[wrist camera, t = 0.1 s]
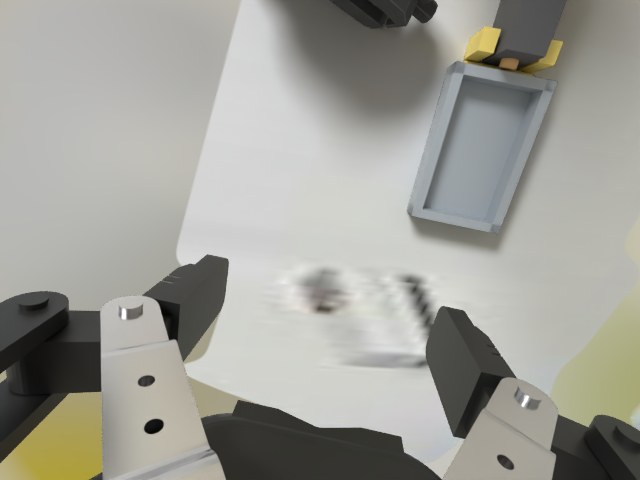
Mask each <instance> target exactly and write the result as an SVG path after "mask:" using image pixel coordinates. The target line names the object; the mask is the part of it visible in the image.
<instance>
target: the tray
mask: <svg viewBox="0 0 640 480" xmlns="http://www.w3.org/2000/svg"><path fill="white" fill-rule="evenodd" d="M556 84H557V81H552V80H547V79H542V78H537V77H533V76H528V75H523V74H518V73H513V72H508V71H503V70H498V69H493V68H488V67H483V66H478V65H473V64H468V63H463V62H458V61H457V62H455V63H454V64H452V65H451V66H449V67H448V70H447V73H446V77H445V80H444V84H443V87H442V90H441V94H440V97H439V101H438V104H437V108H436V111H435V115H434V118H433V122H432V125H431V128H430V132H429V135H428V139H427V142H426V146H425V149H424V153H423V156H422V160H421V163H420V167H419V170H418V173H417V177H416V180H415V184H414V187H413V191H412V194H411V198H410V201H409V205H408V208H407V211H408V212H409V213H410V215H411V216H414V217H419V218H424V219H429V220H433V221H438V222H443V223H447V224H452V225H457V226H462V227H466V228H471V229H476V230H480V231H485V232H490V233H495V234H498V233H499V230H500V228H501V225H502V223H503V220H504V218H505V215H506V212H507V210H508V207H509V205H510V202H511V200H512V197H513V195H514V192H515V189H516V187H517V184H518V182H519V179H520V177H521V174H522V171H523V169H524V166H525V164H526V161H527V159H528V156H529V154H530V151H531V148H532V146H533V143H534V141H535V138H536V136H537V133H538V130H539V128H540V125H541V123H542V120H543V118H544V115H545V113H546V110H547V107H548V105H549V102H550V100H551V97H552V95H553V92H554V89H555V87H556Z"/></svg>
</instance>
